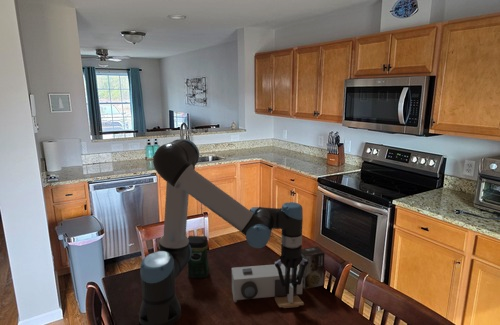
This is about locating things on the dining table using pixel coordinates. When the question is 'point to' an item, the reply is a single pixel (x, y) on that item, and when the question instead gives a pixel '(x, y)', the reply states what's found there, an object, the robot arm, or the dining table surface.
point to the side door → (285, 303)
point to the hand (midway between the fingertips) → (290, 300)
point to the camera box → (259, 282)
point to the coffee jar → (198, 257)
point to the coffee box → (313, 267)
